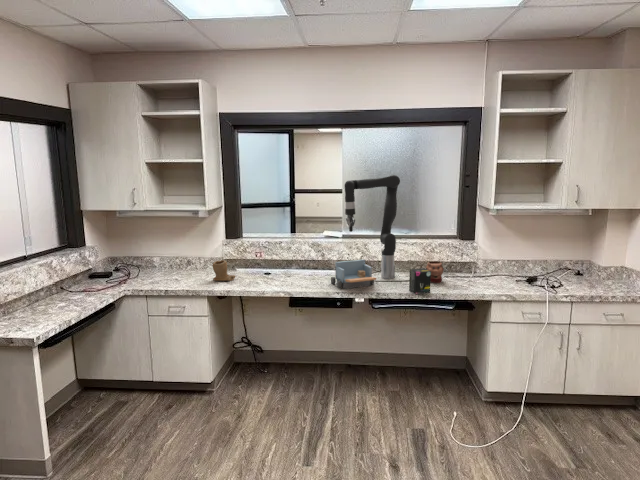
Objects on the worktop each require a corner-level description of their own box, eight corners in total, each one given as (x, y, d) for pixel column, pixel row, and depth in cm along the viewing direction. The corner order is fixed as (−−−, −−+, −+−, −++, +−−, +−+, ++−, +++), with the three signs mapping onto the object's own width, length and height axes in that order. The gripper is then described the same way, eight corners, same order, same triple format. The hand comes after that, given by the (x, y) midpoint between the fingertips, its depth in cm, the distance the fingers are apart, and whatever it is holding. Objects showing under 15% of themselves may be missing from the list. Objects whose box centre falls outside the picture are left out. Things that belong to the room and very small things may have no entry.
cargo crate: (362, 275, 290) (362, 270, 290) (365, 277, 287) (365, 271, 286) (357, 276, 289) (357, 270, 288) (360, 277, 285) (360, 272, 285)
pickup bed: (363, 279, 304) (363, 257, 301) (374, 285, 288) (374, 262, 285) (330, 282, 295) (330, 260, 292) (339, 289, 279) (339, 266, 277)
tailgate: (370, 276, 285) (376, 277, 276) (370, 279, 285) (376, 280, 276) (345, 279, 278) (350, 280, 270) (345, 282, 278) (350, 283, 270)
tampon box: (415, 294, 266) (416, 272, 263) (408, 290, 274) (409, 269, 272) (430, 293, 269) (431, 271, 266) (423, 289, 277) (424, 267, 275)
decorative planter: (422, 277, 308) (423, 258, 305) (439, 277, 307) (440, 258, 305) (428, 284, 288) (429, 265, 286) (446, 284, 287) (447, 265, 285)
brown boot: (210, 282, 300) (209, 262, 298) (216, 278, 312) (215, 258, 309) (230, 283, 298) (229, 262, 295) (236, 278, 309) (235, 259, 307)
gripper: (358, 208, 299) (359, 232, 302) (351, 207, 311) (352, 230, 314) (348, 209, 297) (349, 233, 299) (342, 207, 309) (343, 230, 312)
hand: (350, 231), depth 307 cm, fingers closed
